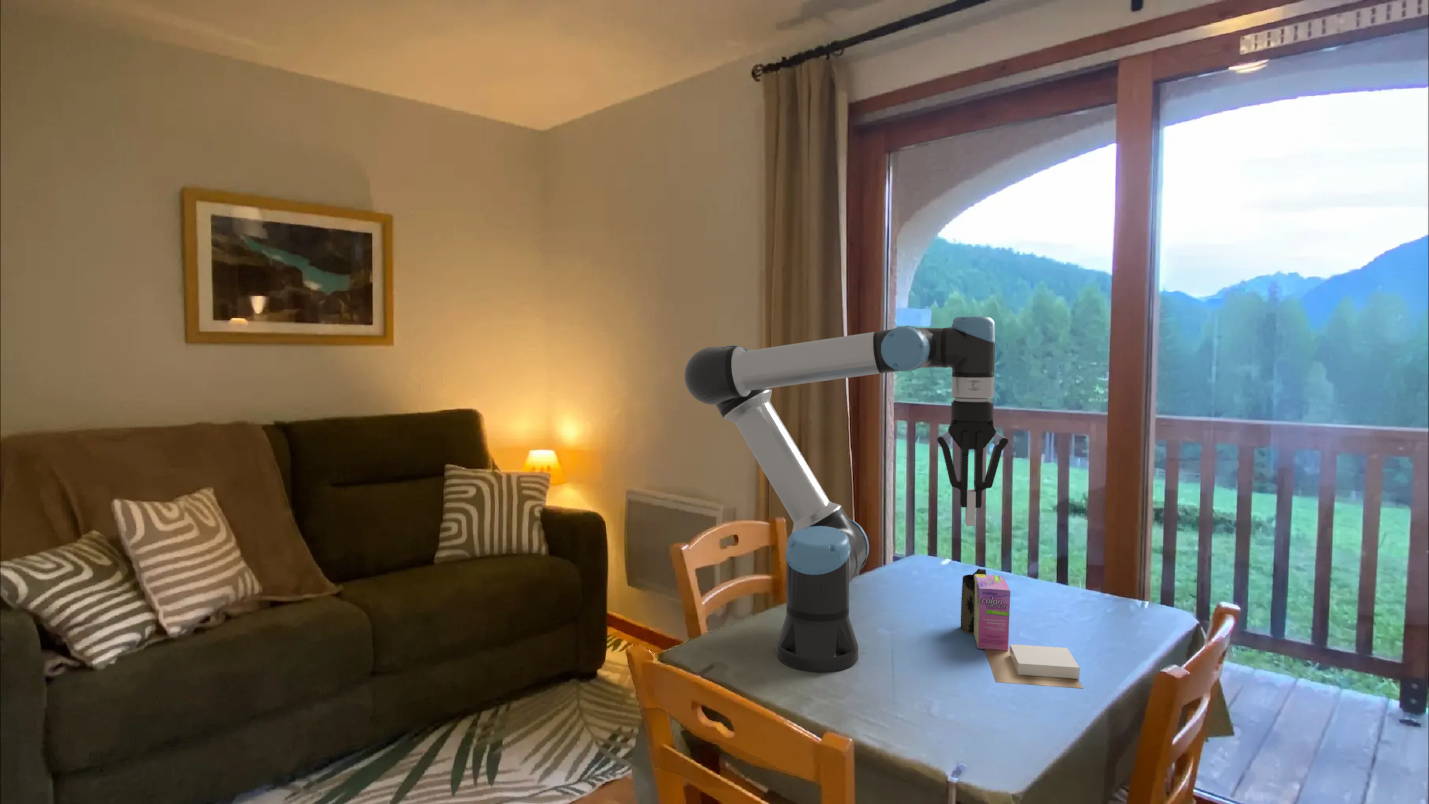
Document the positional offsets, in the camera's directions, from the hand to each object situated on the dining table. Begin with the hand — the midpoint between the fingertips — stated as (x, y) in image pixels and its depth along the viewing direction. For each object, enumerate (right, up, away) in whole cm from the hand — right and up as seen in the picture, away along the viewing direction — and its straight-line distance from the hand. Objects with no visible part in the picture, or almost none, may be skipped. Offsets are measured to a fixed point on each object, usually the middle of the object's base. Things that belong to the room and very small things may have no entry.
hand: (970, 524), depth 151 cm
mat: (+9, -25, -7) cm, 27 cm away
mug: (+5, -24, +12) cm, 27 cm away
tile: (+6, -23, -7) cm, 25 cm away
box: (+6, -24, +5) cm, 25 cm away
